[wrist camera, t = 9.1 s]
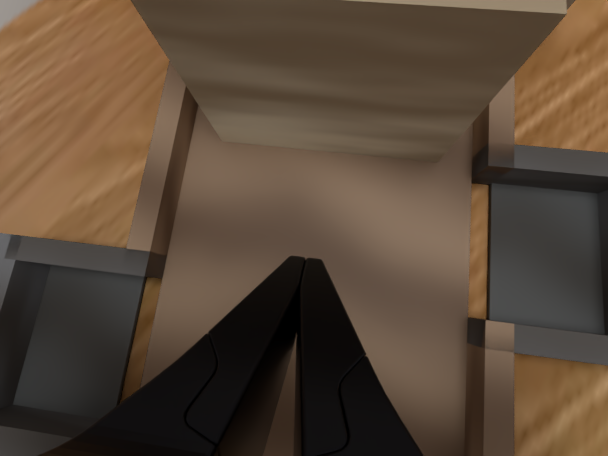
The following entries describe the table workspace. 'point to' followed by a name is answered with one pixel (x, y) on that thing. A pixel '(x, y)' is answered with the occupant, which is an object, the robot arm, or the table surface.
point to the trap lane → (339, 263)
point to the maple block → (348, 67)
